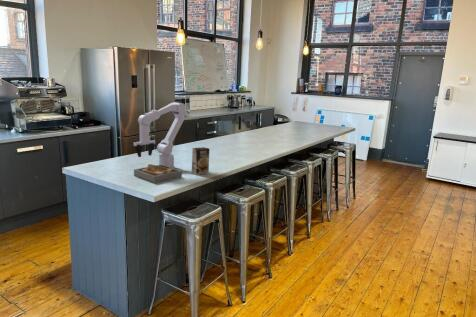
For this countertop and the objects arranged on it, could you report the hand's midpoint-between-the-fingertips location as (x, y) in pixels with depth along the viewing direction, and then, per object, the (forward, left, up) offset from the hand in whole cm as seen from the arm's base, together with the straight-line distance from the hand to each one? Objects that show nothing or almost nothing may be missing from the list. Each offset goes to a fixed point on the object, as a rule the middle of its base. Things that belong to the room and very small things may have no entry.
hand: (144, 156), depth 227 cm
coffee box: (-23, +26, -10) cm, 36 cm away
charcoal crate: (+2, +16, -9) cm, 19 cm away
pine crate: (+2, +16, -9) cm, 18 cm away
